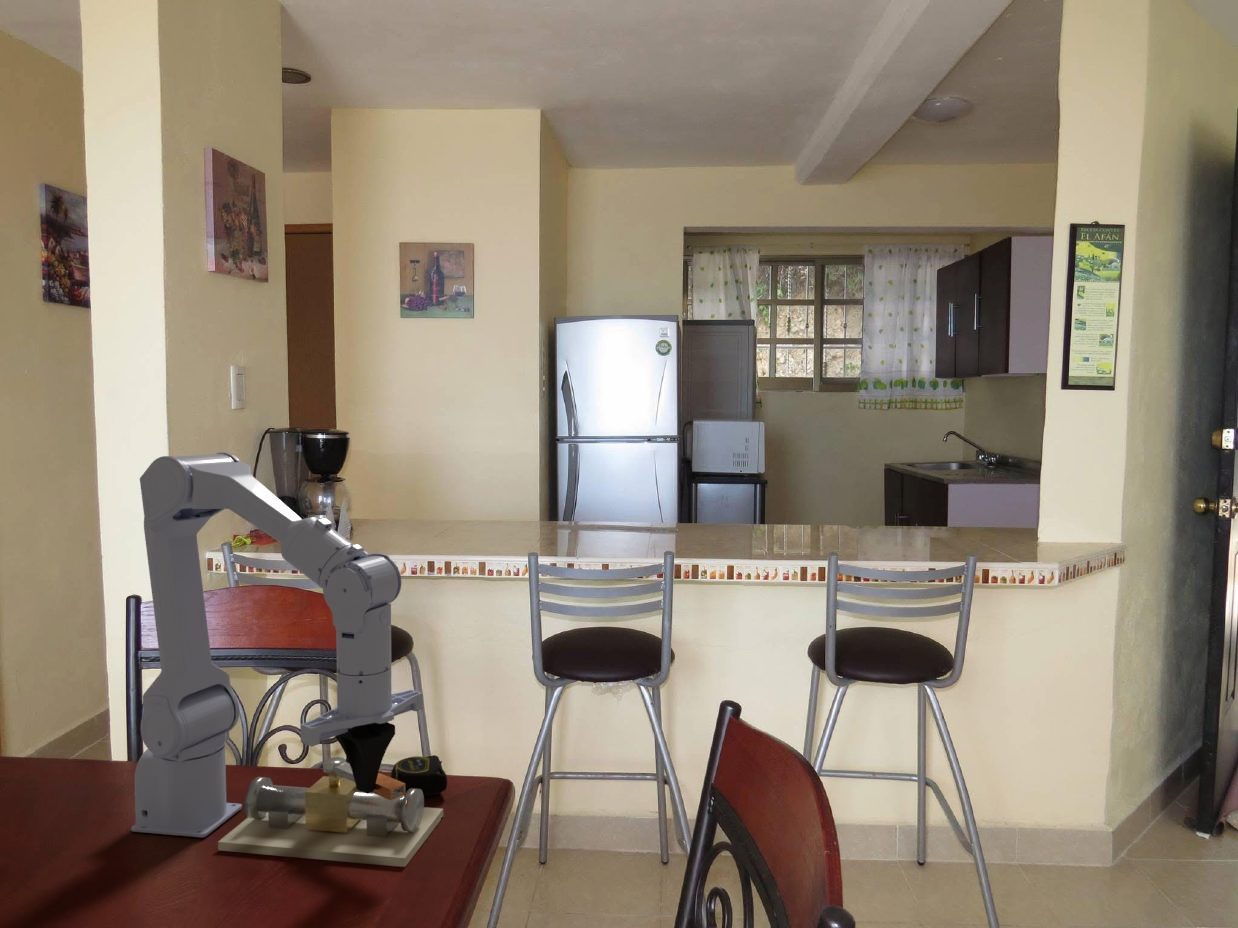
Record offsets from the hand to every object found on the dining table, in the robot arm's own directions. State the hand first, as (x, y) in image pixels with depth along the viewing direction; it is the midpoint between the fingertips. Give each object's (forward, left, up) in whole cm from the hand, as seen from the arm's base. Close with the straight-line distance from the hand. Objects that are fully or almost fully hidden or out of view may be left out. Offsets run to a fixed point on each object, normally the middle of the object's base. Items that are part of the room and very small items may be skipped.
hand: (365, 789), depth 98 cm
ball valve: (-6, +5, -8) cm, 11 cm away
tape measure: (0, +18, -8) cm, 20 cm away
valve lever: (-2, +3, 0) cm, 3 cm away
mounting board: (-6, +5, -8) cm, 11 cm away
